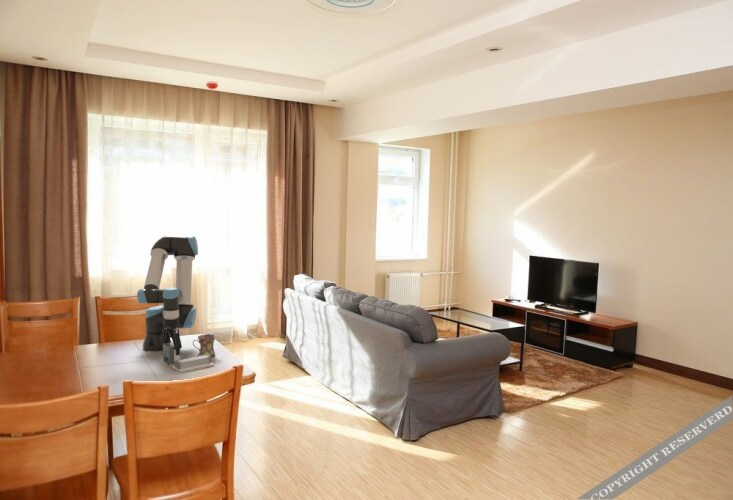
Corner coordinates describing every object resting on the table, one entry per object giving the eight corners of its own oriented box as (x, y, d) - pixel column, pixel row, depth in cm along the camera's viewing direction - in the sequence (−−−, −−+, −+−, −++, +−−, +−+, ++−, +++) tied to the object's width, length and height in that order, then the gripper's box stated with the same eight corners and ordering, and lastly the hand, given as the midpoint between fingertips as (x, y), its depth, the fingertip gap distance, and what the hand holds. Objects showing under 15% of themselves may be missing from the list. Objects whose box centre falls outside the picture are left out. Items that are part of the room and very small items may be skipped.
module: (163, 360, 272) (162, 343, 271) (174, 358, 276) (174, 341, 275) (169, 364, 266) (168, 346, 265) (180, 362, 270) (180, 344, 269)
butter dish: (172, 367, 262) (171, 359, 261) (204, 360, 273) (204, 352, 273) (181, 372, 254) (180, 364, 253) (213, 365, 265) (213, 357, 265)
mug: (214, 352, 288) (214, 333, 287) (217, 357, 280) (217, 337, 279) (191, 354, 283) (191, 335, 282) (193, 359, 275) (193, 339, 274)
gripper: (154, 314, 275) (155, 354, 277) (173, 323, 257) (174, 365, 259) (168, 313, 280) (169, 351, 282) (188, 321, 262) (188, 362, 264)
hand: (171, 358), depth 270 cm, fingers open, 13 cm apart
